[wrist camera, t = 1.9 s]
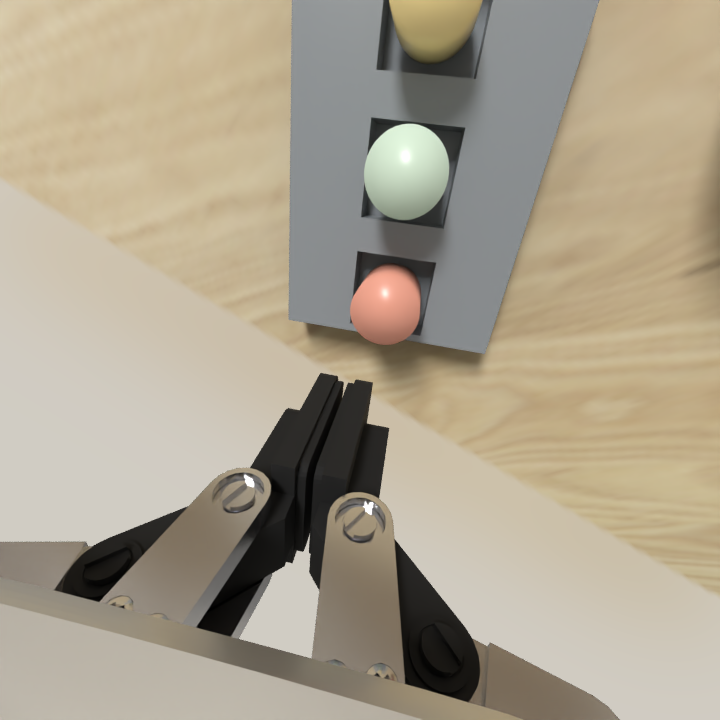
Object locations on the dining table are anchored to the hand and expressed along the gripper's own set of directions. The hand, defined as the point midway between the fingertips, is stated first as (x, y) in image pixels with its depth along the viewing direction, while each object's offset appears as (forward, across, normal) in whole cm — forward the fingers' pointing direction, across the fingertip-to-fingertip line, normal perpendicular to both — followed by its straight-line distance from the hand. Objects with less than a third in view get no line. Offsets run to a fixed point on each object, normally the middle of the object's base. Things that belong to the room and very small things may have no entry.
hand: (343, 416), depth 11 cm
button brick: (+14, 0, 0) cm, 14 cm away
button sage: (+14, 0, -7) cm, 16 cm away
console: (+16, 0, -7) cm, 18 cm away
